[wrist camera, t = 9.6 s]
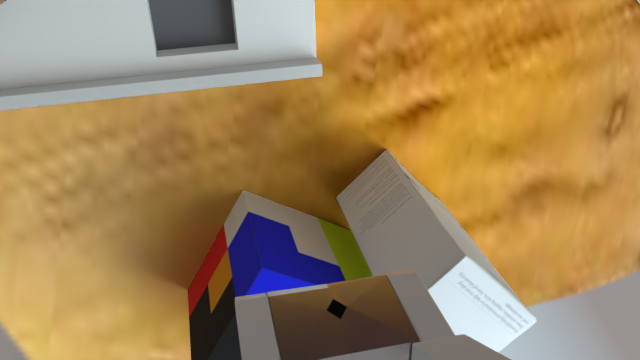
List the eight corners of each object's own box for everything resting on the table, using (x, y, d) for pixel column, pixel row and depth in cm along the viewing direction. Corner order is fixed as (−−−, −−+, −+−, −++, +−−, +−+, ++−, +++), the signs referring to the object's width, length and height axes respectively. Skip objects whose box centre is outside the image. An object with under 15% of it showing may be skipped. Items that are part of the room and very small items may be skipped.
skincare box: (443, 202, 47) (547, 320, 34) (392, 249, 48) (474, 382, 35) (381, 143, 42) (473, 253, 30) (327, 197, 44) (393, 326, 31)
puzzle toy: (242, 189, 41) (262, 267, 33) (350, 229, 46) (393, 309, 37) (187, 289, 44) (192, 385, 36) (294, 319, 49) (321, 411, 40)
